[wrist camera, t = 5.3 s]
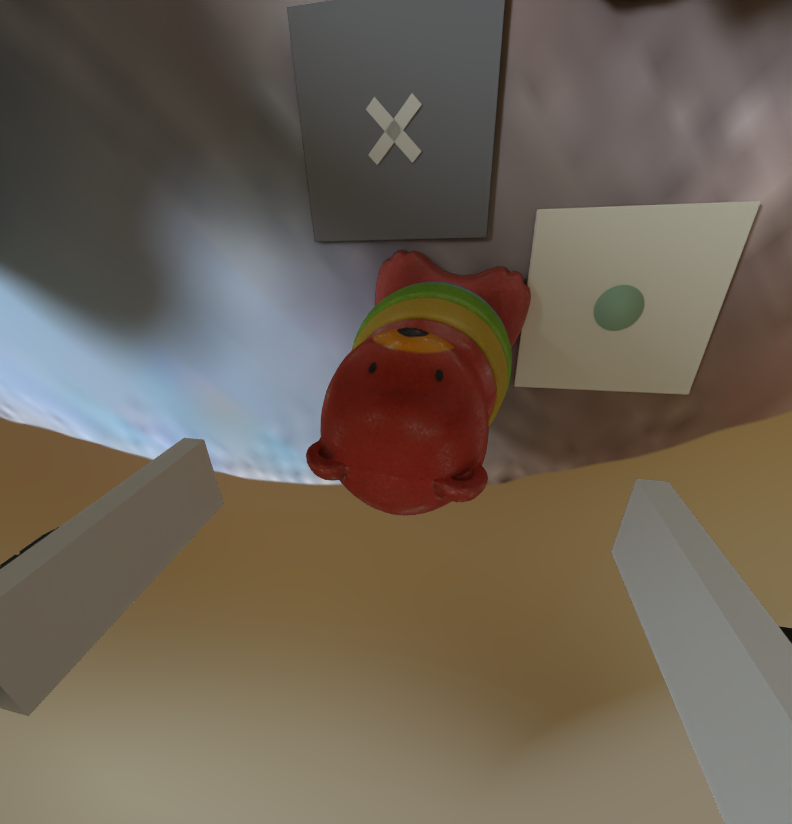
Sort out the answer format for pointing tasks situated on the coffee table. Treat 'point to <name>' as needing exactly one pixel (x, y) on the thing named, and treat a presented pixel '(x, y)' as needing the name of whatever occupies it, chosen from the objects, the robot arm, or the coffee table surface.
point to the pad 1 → (397, 115)
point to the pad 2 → (627, 294)
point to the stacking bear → (421, 386)
